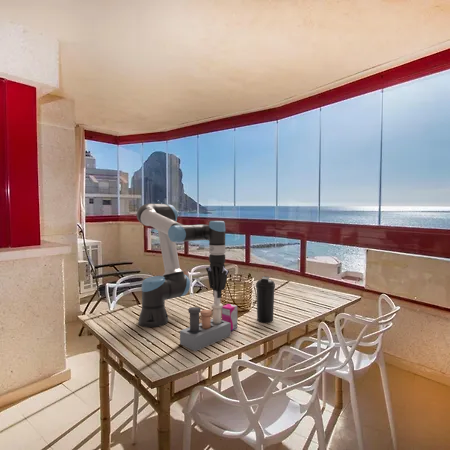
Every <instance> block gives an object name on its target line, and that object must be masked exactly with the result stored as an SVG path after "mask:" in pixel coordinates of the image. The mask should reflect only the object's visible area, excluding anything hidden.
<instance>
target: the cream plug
mask: <svg viewBox="0 0 450 450" xmlns="http://www.w3.org/2000/svg"><path fill="white" fill-rule="evenodd" d="M223 306H224V305H223V303H221V302H220V304H218V305H214V302H213V303H211V308H212V319H213V324H215V325H219V324H221V320H222V307H223Z"/></svg>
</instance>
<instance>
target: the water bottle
mask: <svg viewBox="0 0 450 450" xmlns="http://www.w3.org/2000/svg"><path fill="white" fill-rule="evenodd" d="M255 288H256V317H257V318H256V319H257V321H258V322H259V323H262V324H268V323H269V324H271V323H272V321H273V322H274V311H275V309H274V304H275V288H276V284H275V282H274V280H272V279H271V276H265V275H263V276H261V279H258V280H257V281H256V282H255Z"/></svg>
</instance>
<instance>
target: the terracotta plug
mask: <svg viewBox="0 0 450 450" xmlns="http://www.w3.org/2000/svg"><path fill="white" fill-rule="evenodd" d="M199 316H201V323H202V328H203V329H205V330H206V329H209V328H211V319H212V318H211V317H212V316H213V310H210V309H202V310H201V312H200V313H199Z"/></svg>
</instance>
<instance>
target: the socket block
mask: <svg viewBox="0 0 450 450" xmlns="http://www.w3.org/2000/svg"><path fill="white" fill-rule="evenodd" d="M231 332H232V331H231V323H229V322H226V321H224V320H222V319H221V324H219V325H215V324H213V318H211V328H209V329H206V330H205V329H203V328H202V322H199V331H197V332H192V331H190V326H189V327H185V328H183V329H181V330H179V345H182V346H183V347H185V348H188V349H189V350H191V351H194V352H198V351H199V350H202V349H204V348H206V347H208V346H211V345H213V344H215V343H217V342H219V341H222V340H224V339H226V338H228V337H230V336H232V335H231Z"/></svg>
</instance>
